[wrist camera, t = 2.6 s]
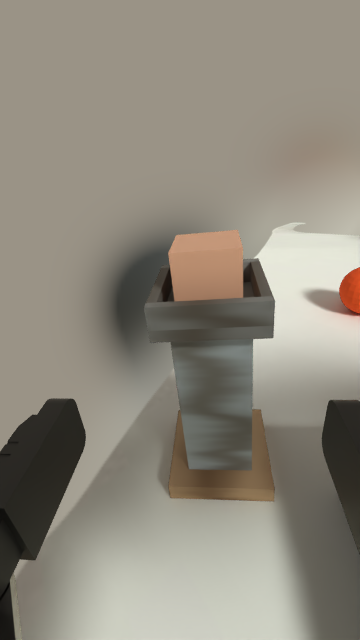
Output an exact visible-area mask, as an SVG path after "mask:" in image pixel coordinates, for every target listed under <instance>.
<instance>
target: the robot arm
mask: <svg viewBox="0 0 360 640" xmlns="http://www.w3.org/2000/svg"><path fill="white" fill-rule="evenodd" d="M85 435H86V434H85V429H84V426H83V423H82V420H81V417H80V414H79V411H78V408H77V405H76V402H75V400H74V399H49V400H47V401H46V403H45V404H44V405H43V407H42V408H41V410H40V411H39V413H38V414H37V415H32V416H30V417H29V418H28V419H27V420H26V421H25V422H23V423H22V424H21V425H20V426H19V427H18V428H17V429H16V431H15V432H14V433H13V435H12V436H11V437H10V439H9V440H8V443H7V445H5V446H4V447H3V449H2V450H1V451H0V640H22V635H21V626H20V617H19V608H18V599H17V590H16V581H15V576H14V574H13V572H14V570H15V568H16V566H17V564H18V562H19V559H24V560H36V558H37V555H38V553H39V551H40V548H41V546H42V544H43V541H44V539H45V537H46V535H47V532H48V530H49V528H50V525H51V523H52V520H53V519H54V516H55V514H56V511H57V509H58V507H59V505H60V502H61V500H62V498H63V496H64V493H65V491H66V488H67V486H68V484H69V482H70V479H71V477H72V475H73V473H74V470H75V468H76V466H77V463H78V461H79V459H80V457H81V454H82V452H83V449H84V446H85V439H86V436H85ZM322 447H323V453H324V456H325V459H326V462H327V465H328V468H329V471H330V473H331V476H332V479H333V482H334V484H335V487H336V490H337V493H338V496H339V498H340V501H341V504H342V507H343V509H344V512H345V515H346V518H347V520H348V523H349V526H350V529H351V532H352V534H353V537H354V540H355V543H356V545H357V548H358V551H359V554H360V401H358V400H330V401H329V403H328V406H327V412H326V417H325V422H324V428H323V433H322Z"/></svg>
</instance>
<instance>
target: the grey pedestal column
mask: <svg viewBox="0 0 360 640" xmlns="http://www.w3.org/2000/svg"><path fill="white" fill-rule="evenodd" d="M274 309H275V300H274V297H273V295H272V292H271V290H270V287H269V285H268V282H267V279H266V277H265V274H264V272H263V269H262V267H261V264H260V262H259V259H258V258H257V259H243V298H228V299H210V300H192V301H174V293H173V285H172V277H171V270H170V265H163V266H162V268H161V270H160V272H159V274H158V277H157V279H156V281H155V284H154V286H153V288H152V290H151V293H150V295H149V297H148V300H147V302H146V304H145V307H144V311H145V316H146V322H147V327H148V333H149V338H150V342H151V343H156V342H171V348H172V356H173V363H174V370H175V376H176V383H177V390H178V397H179V404H180V410H179V411H178V419H177V426H176V434H175V441H174V449H173V456H172V463H171V471H170V478H169V486H168V487H169V492H170V497H171V498H188V499H219V500H250V501H274V491H275V489H274V483H273V477H272V472H271V466H270V460H269V455H268V449H267V443H266V438H265V432H264V426H263V420H262V415H261V410H252V379H253V339H264V338H273V331H274Z"/></svg>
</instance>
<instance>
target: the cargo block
mask: <svg viewBox="0 0 360 640" xmlns="http://www.w3.org/2000/svg"><path fill="white" fill-rule="evenodd" d="M169 262H170V270H171V277H172V285H173V293H174V301H192V300H210V299H228V298H243V247H242V244H241V240H240V236H239V233H238V230H232V231H220V232H209V233H196V234H185V235H176V237H175V239H174V242H173V244H172V246H171V249H170V251H169Z"/></svg>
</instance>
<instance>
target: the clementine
mask: <svg viewBox="0 0 360 640" xmlns="http://www.w3.org/2000/svg"><path fill="white" fill-rule="evenodd" d="M339 294H340V298H341V300H342V302H343V304H344V305H345V306H346V307H347V308H348V309H350V310H352V311H353V312H356V313H360V267H359V268H357V269H355V270H352V271H351V272H350V273H348V274H347V275H346V276H345V277H344V279H343V280H342V282H341V285H340V288H339Z"/></svg>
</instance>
